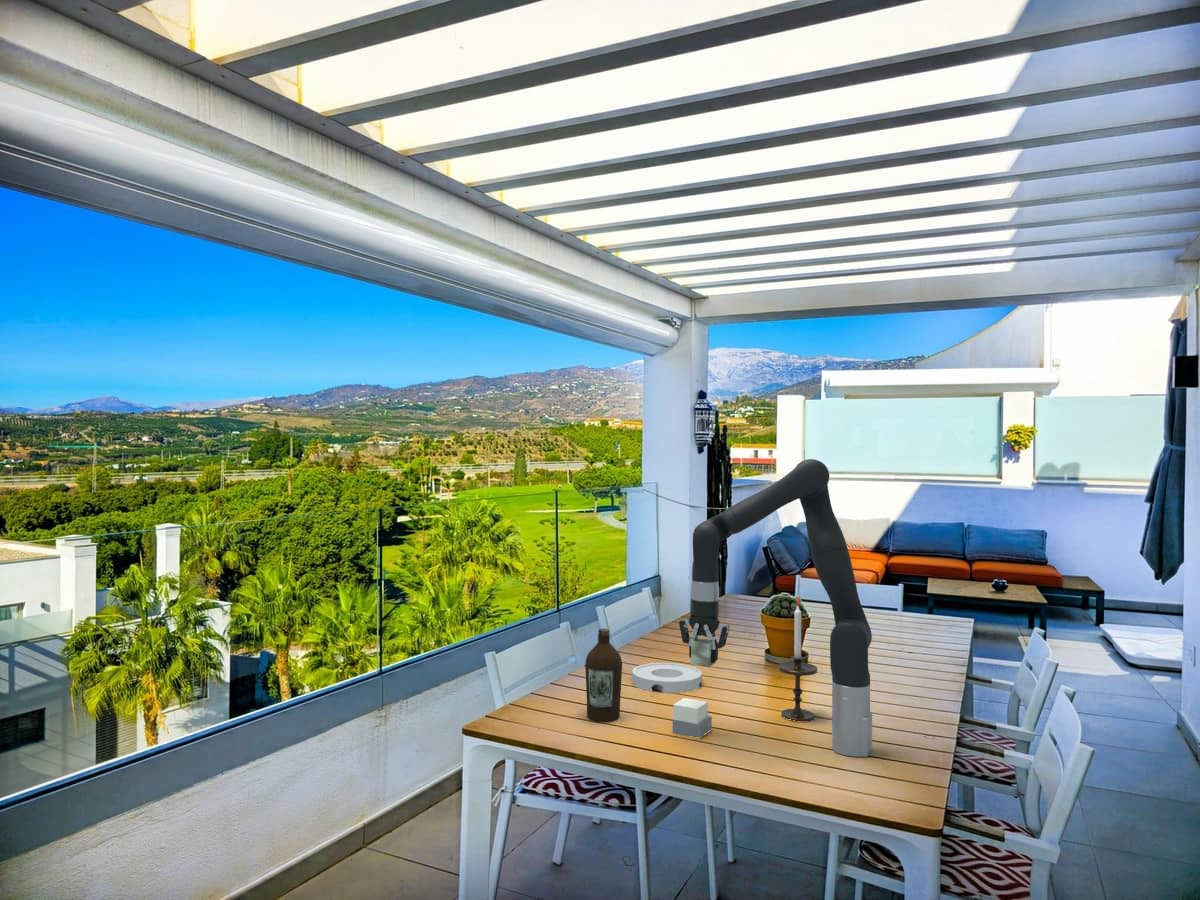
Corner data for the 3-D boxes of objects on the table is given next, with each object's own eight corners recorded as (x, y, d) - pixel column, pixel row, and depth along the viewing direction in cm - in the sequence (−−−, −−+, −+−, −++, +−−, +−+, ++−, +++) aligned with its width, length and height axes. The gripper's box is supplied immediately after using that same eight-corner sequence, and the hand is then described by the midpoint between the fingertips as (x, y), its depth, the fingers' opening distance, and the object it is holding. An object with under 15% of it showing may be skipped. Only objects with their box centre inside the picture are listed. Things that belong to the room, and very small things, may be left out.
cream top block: (707, 716, 211) (707, 702, 212) (697, 724, 205) (697, 708, 206) (684, 712, 215) (684, 697, 215) (673, 719, 209) (673, 704, 209)
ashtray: (652, 697, 242) (652, 684, 242) (620, 678, 263) (620, 666, 263) (715, 689, 251) (715, 676, 251) (679, 671, 272) (679, 660, 272)
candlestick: (802, 709, 230) (802, 591, 231) (825, 720, 220) (825, 597, 220) (770, 713, 226) (771, 593, 227) (792, 725, 216) (793, 599, 217)
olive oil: (589, 709, 228) (590, 624, 229) (625, 712, 226) (625, 626, 226) (580, 721, 218) (581, 632, 218) (617, 724, 216) (618, 634, 216)
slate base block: (711, 730, 212) (711, 716, 212) (699, 739, 205) (700, 724, 205) (684, 725, 216) (684, 711, 216) (672, 734, 209) (672, 719, 209)
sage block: (715, 663, 208) (716, 640, 208) (708, 667, 203) (709, 644, 203) (698, 660, 210) (698, 638, 210) (691, 664, 206) (691, 641, 206)
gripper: (735, 598, 207) (733, 662, 206) (685, 592, 214) (683, 654, 213) (725, 602, 200) (723, 668, 200) (674, 596, 207) (672, 660, 207)
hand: (703, 661), depth 207 cm, fingers closed on sage block, 5 cm apart
